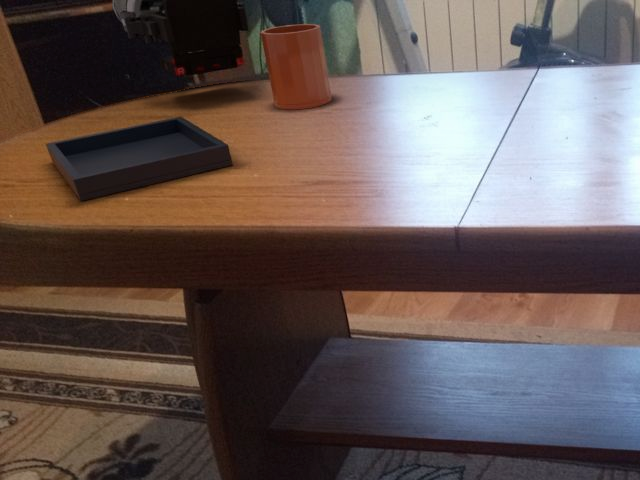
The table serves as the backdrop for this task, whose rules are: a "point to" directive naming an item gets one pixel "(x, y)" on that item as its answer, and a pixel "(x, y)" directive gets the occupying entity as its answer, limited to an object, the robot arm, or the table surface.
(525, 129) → the table surface
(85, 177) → the dark tray
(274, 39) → the terracotta cup
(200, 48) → the handheld gaming console
